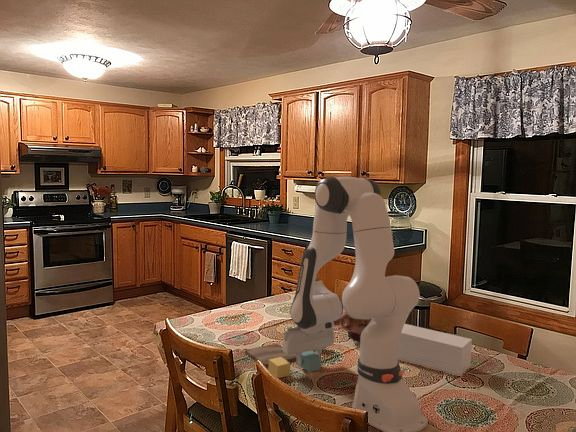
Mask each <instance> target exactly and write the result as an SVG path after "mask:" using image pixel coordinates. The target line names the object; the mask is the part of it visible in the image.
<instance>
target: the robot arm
mask: <svg viewBox="0 0 576 432" xmlns="http://www.w3.org/2000/svg"><path fill="white" fill-rule="evenodd" d="M381 193H382V192H381V187H380V186H379V184H378V183H377V182H376V181H375V180H373V179H370V178H366V177H361V178H360V177H355V176H354V177H353V176H352V177H351V176H338V177H336V176H335V177H334V176H330V177H326V178H323V179H320V180H319V181H318V182H317V184H316V186H315V188H314V200H315V202H316V203H315V204H316V206H315V211H314V217H313V223H312V235H311V239H310V242H309V245H308V246H307V248H306V249H305V250H304V252H303V253H302V256H301V257H302V258H301V261H300V267H299V272H298V277H297V282H296V283H297V284H296V288H295V293H294V297H293V300H292V303H291V306H290V312H289V313H290V318H291V320H292V322H293V323H294V324H295V326H292V327H287V329H285V331H284V332H283V341H282V350H283V352H284V353H285V354H287V355H294V354H295V355H296V357H297V358H298V364H300V365H301V364H304V359H302V358H301V355H302V353H303V352H307V351H315V352H314V353H315V354H317V355H319V356H321V354H322V351H323V349H324V348H328V347H332V346H333V345H334V344H335V335H336V334H335V329H334V327H335V323H334V322H335V321H338V320H340V319H341V316H342V315H343V314H344V311H345V313H347V314H348V315H349V316H350V317H352V318H354V319H371V321H370V323H369V324H368V326H367V327H366V328H365V329H364V330H363V331H362V333H361V337H360V341H359V358H358V359H357V374H358V375H357V381H356V384H355V391H354V396H353V400H352V403H351V409H352V408H356V409H360V410H364V411H367V412H368V418H369V424H368V425H369V426H372V427H374V428H376V429H378V430H380V431H381V432H420V431H422V430H423V429H425V428H426V427H427V426H428V423H429V420H428V418H427V417H426V416H424V415H423V414H421V412H420V404H419V400H418V399H417V397H416V396H415V393H414V391H413V390H411V389H410V387H409V386H408V385H407V383H406V381H404V379H403V376H404V375H406V373H405V372H406V370H401V366H400V362H399V360H398V353H399V341H400V336H401V332H402V329H403V326H404V324H406V321H407V318H408V317H409V315H410V313H411V312H412V310H413V309H414V308H415V307H416V306H417V305H418V303H419V301H420V297H421V295H420V288H419V286H418V284H417V282H416V281H415V280H414V279H413V278H411V277H410V276H405V275H398V274H397V275H395V274H394V275H388V276H386V270H387V266H388V264H389V262H390V261H391V260H392V259H393V257H394V256H395V247H394V239H393V233H392V226H391V220H390V217H389V213H388V208H387V206H386V203H385V200H384V198H383V196H381V195H382V194H381ZM349 217H350V219H351V225H352V232H353V233H352V234H353V243H354V252H355V265H354V269H353V273H352V276H351V279H350V281H349V283H348V284H347V285H346V286H345V288H344V289H343V291H342V296H341V297H340V296H339V295H338V294H337V293H333V292H332V291H330V290H329V289H328V288H327V287H326V286H325V285H324V283H323V280H321V279H320V278H317V274H318V272H319V271H320V269H321V268H322V267H323V266H324V265H326V264H327V263H329V262H330V261H332V260H334V259H335V258H337V257H338V256H339V255H340V254H341V253H342V252H343V251H344V250H345V246H346V244H347V232H348V230H347V228H348V227H347V225H348V218H349Z"/></svg>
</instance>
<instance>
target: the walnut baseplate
mask: <svg viewBox="0 0 576 432" xmlns="http://www.w3.org/2000/svg"><path fill="white" fill-rule="evenodd" d="M282 347H283V345H280V344H279V343H271V344H268V345H263V346H258V347H253V348H248V349H244V354H246V355H247V356H248V357H250V358H251V359H252V360H254V361H255V362H256V361H257V360H259V361H261V362H262V363H263V365H264V366H265V367H266V368H268V366H269V359H274V358H278V357H282V358H284V359H285V360H287V361H288V362H290V363H291V362H294V361H295V362H296V355H295V354H294V355H287V354H285V353H284V352H283V350H282Z"/></svg>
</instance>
